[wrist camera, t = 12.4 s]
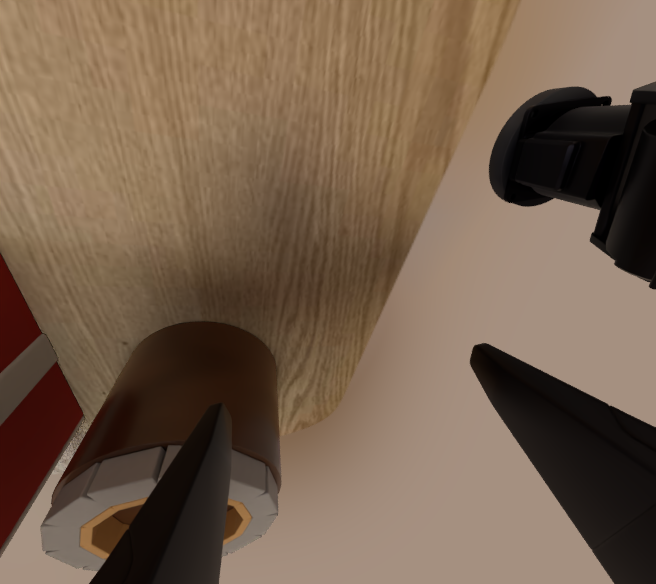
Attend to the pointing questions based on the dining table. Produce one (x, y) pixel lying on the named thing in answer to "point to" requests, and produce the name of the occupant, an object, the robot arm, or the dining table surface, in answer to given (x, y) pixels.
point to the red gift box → (28, 409)
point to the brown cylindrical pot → (186, 398)
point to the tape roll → (132, 490)
